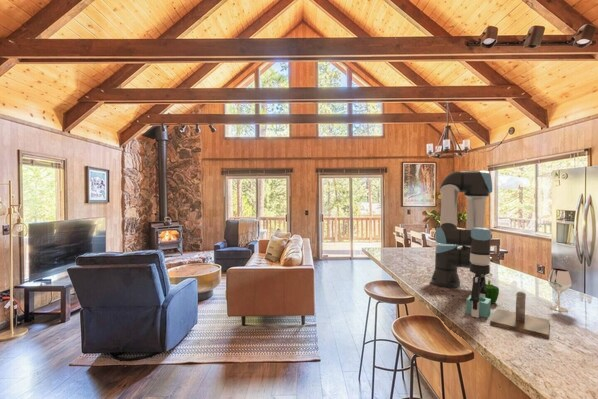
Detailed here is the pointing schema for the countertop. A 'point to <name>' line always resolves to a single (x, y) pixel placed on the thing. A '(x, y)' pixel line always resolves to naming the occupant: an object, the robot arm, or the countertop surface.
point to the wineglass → (559, 284)
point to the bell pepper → (492, 292)
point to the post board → (521, 326)
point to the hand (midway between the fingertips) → (478, 312)
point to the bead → (480, 306)
